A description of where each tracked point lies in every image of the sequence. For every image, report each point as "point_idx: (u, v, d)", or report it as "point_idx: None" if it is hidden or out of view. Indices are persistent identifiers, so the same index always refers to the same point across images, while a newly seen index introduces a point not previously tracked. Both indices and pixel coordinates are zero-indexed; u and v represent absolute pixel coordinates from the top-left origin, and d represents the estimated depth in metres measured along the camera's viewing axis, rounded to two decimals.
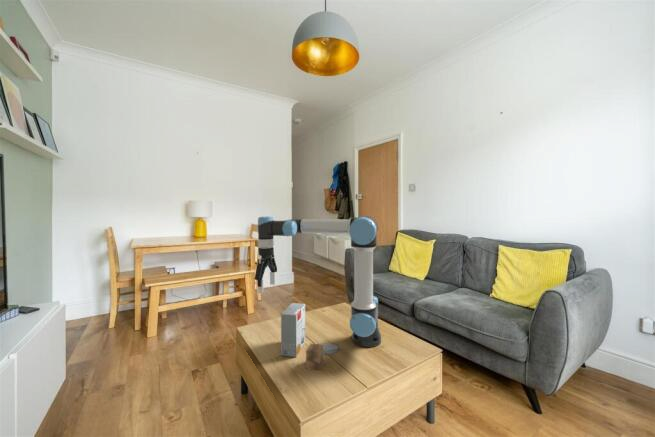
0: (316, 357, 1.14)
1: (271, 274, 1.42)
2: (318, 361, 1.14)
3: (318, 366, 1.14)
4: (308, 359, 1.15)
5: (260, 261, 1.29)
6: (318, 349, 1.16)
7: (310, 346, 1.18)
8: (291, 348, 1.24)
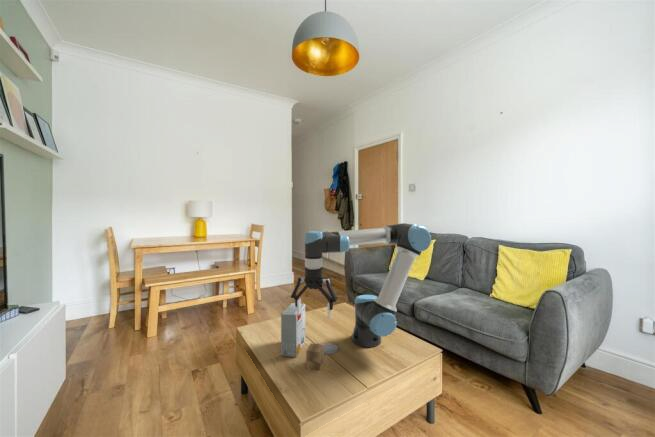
0: (316, 357, 1.14)
1: None
2: (318, 361, 1.14)
3: (318, 366, 1.14)
4: (308, 359, 1.15)
5: None
6: (318, 349, 1.16)
7: (310, 346, 1.18)
8: (291, 348, 1.24)
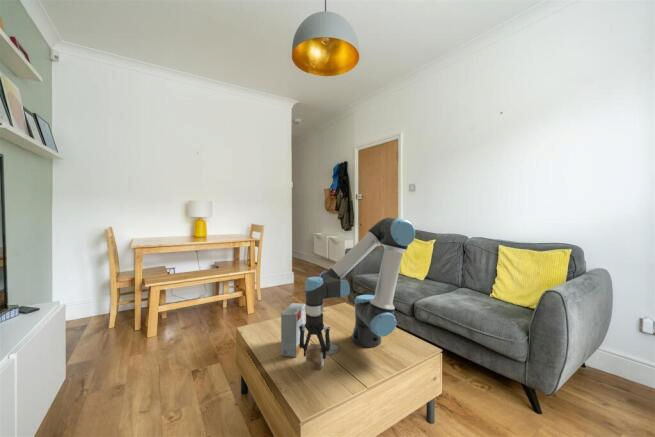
0: (315, 357, 1.14)
1: None
2: (318, 361, 1.14)
3: (318, 366, 1.14)
4: (308, 359, 1.15)
5: None
6: (318, 349, 1.16)
7: (310, 346, 1.18)
8: (291, 348, 1.24)
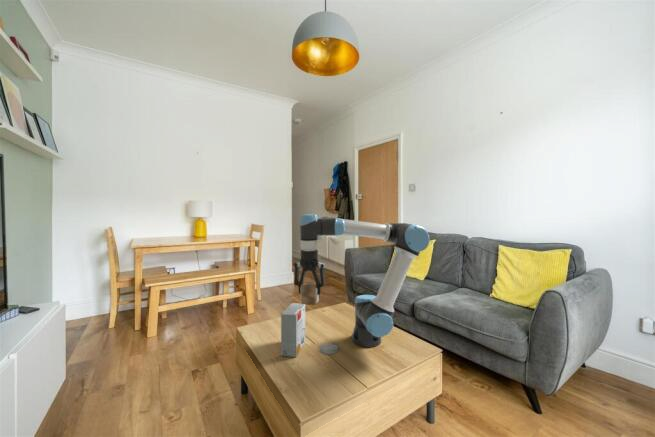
0: (310, 292, 1.15)
1: None
2: (313, 296, 1.15)
3: (313, 301, 1.15)
4: (303, 294, 1.16)
5: None
6: (313, 285, 1.17)
7: (305, 283, 1.19)
8: (291, 348, 1.24)
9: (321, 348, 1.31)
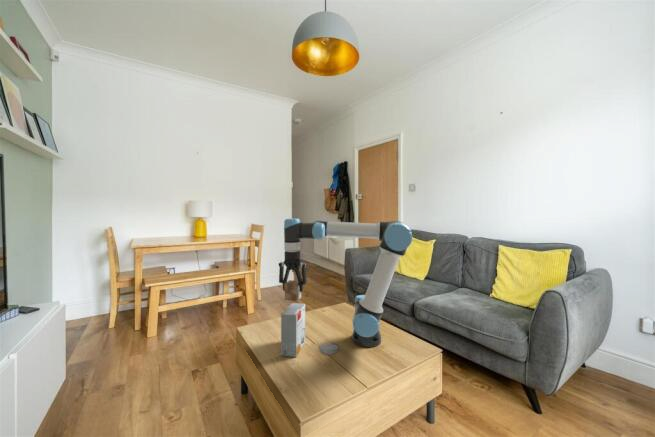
0: (293, 289, 1.27)
1: None
2: (295, 293, 1.27)
3: (295, 297, 1.27)
4: (286, 291, 1.28)
5: None
6: (295, 283, 1.29)
7: (289, 281, 1.31)
8: (291, 348, 1.24)
9: (321, 348, 1.31)
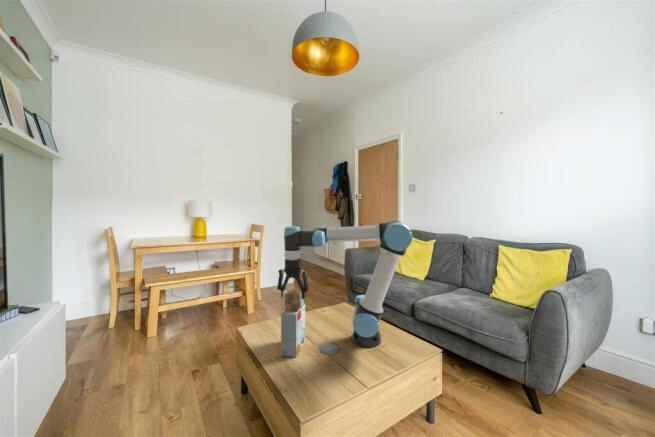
0: (293, 300, 1.27)
1: None
2: (295, 303, 1.27)
3: (295, 308, 1.27)
4: (287, 302, 1.28)
5: None
6: (295, 293, 1.29)
7: (289, 292, 1.31)
8: (291, 348, 1.24)
9: (321, 348, 1.31)
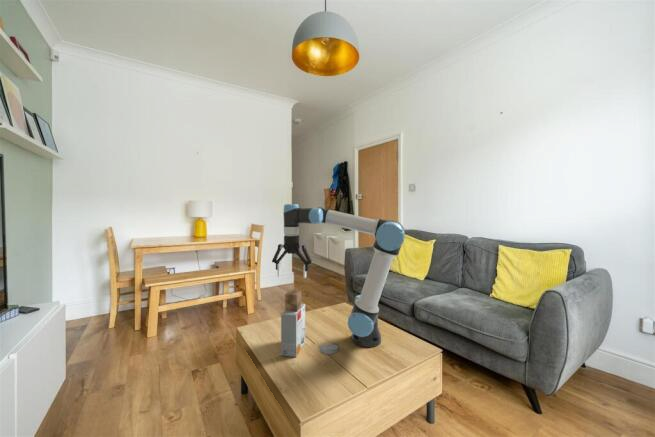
0: (293, 300, 1.27)
1: None
2: (295, 303, 1.27)
3: (295, 308, 1.27)
4: (287, 301, 1.28)
5: None
6: (295, 293, 1.29)
7: (289, 292, 1.31)
8: (291, 348, 1.24)
9: (321, 348, 1.31)
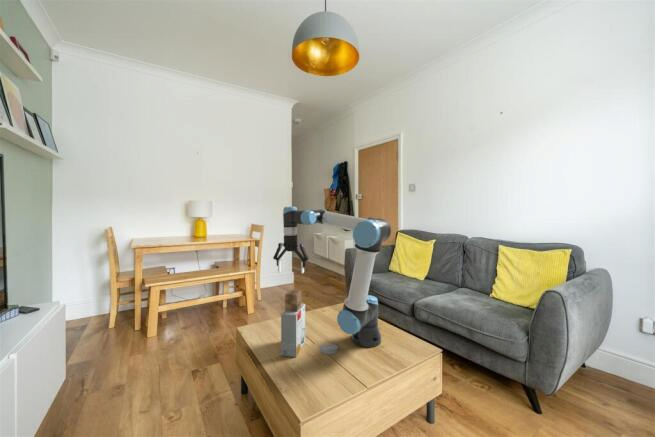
0: (293, 300, 1.27)
1: None
2: (295, 303, 1.27)
3: (295, 308, 1.27)
4: (287, 301, 1.28)
5: None
6: (295, 293, 1.29)
7: (289, 291, 1.31)
8: (291, 348, 1.24)
9: (321, 348, 1.31)
